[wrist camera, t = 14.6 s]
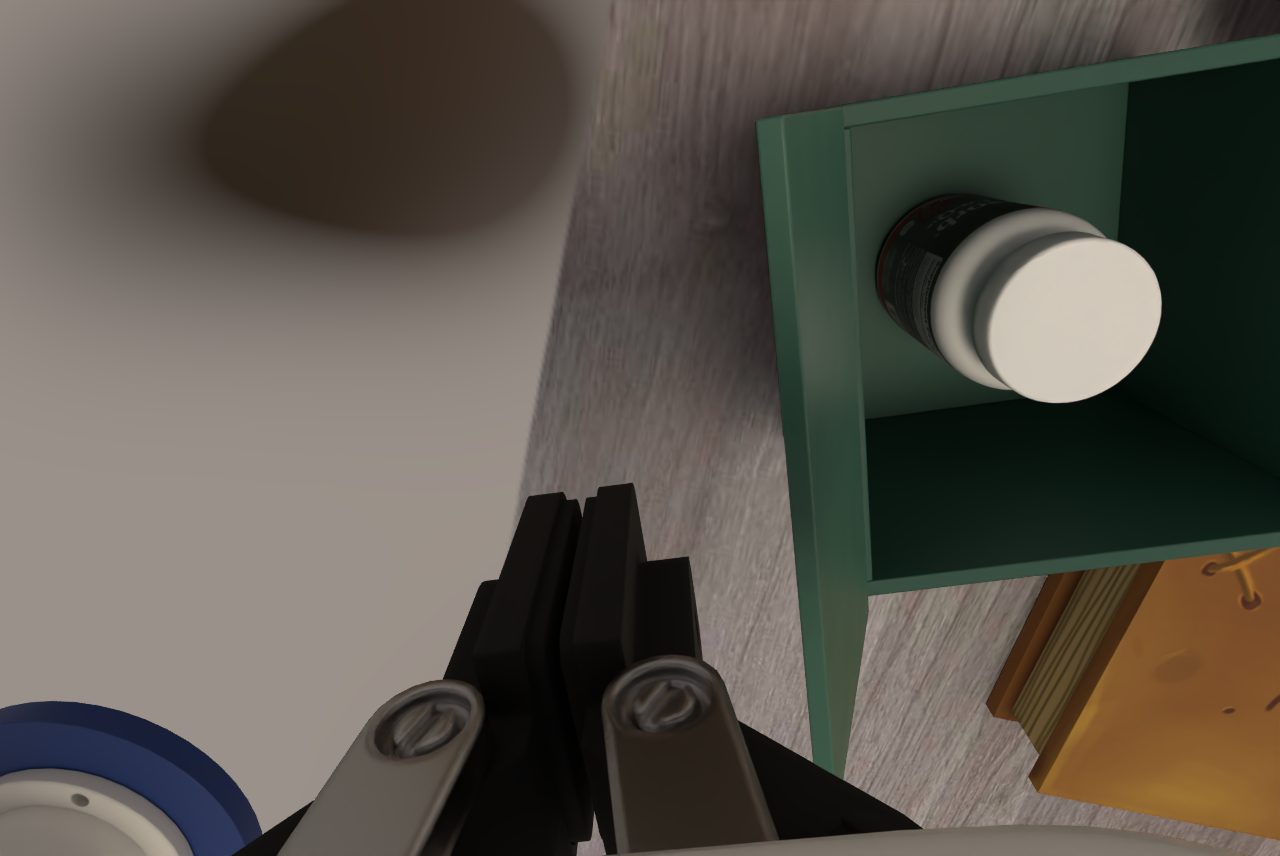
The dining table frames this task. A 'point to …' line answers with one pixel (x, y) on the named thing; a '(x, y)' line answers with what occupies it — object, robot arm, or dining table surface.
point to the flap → (818, 407)
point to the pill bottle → (1020, 296)
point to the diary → (1156, 689)
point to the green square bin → (1144, 399)
